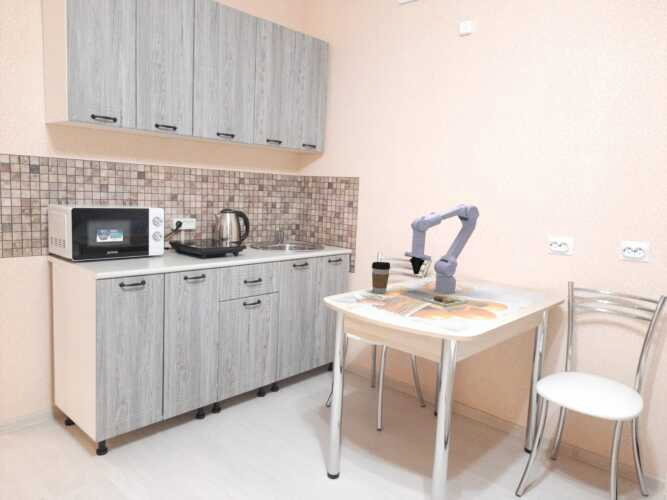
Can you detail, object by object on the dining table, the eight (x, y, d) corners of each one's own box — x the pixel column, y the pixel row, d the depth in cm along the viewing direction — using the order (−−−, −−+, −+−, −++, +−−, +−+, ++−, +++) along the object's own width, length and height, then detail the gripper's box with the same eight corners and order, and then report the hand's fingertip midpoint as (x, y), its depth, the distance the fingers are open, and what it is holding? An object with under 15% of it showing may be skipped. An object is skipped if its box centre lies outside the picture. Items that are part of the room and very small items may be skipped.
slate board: (418, 293, 238) (418, 290, 237) (443, 300, 226) (443, 297, 226) (397, 296, 229) (397, 293, 229) (422, 303, 217) (423, 300, 217)
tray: (443, 300, 226) (444, 295, 226) (465, 306, 217) (466, 301, 217) (422, 303, 217) (423, 298, 217) (444, 309, 208) (445, 304, 208)
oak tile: (448, 303, 218) (448, 297, 218) (455, 305, 215) (456, 299, 215) (442, 304, 216) (442, 298, 215) (449, 306, 213) (450, 300, 212)
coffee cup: (385, 297, 224) (388, 264, 222) (367, 295, 227) (369, 262, 225) (390, 294, 232) (392, 262, 230) (372, 291, 235) (374, 260, 233)
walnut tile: (439, 301, 222) (439, 295, 221) (446, 303, 218) (447, 297, 218) (433, 302, 219) (433, 296, 219) (440, 304, 216) (441, 298, 216)
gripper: (400, 243, 233) (398, 271, 235) (424, 247, 222) (422, 277, 224) (411, 242, 237) (409, 270, 239) (435, 246, 226) (432, 276, 228)
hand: (416, 274), depth 232 cm, fingers closed
